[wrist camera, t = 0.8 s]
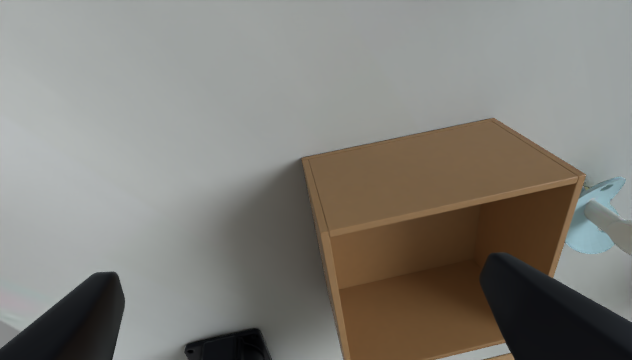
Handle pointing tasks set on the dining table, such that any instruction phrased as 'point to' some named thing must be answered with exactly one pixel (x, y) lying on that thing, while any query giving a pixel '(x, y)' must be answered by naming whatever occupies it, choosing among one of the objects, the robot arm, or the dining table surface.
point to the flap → (502, 357)
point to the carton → (433, 233)
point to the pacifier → (599, 221)
